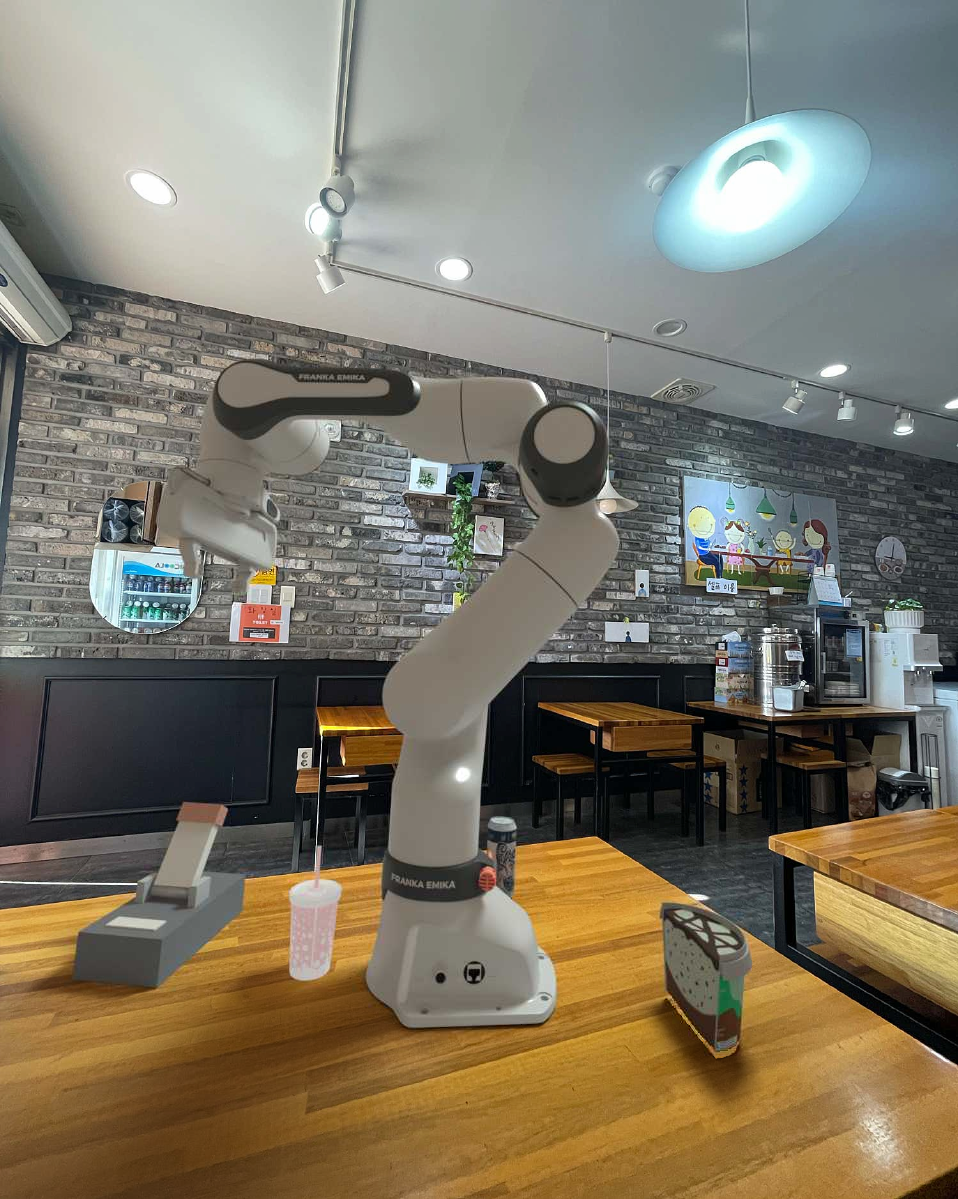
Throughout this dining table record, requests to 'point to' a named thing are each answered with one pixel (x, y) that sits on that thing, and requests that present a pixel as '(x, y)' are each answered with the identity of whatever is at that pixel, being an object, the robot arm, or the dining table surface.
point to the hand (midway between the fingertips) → (217, 586)
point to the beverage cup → (312, 925)
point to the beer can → (503, 851)
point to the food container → (705, 970)
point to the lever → (188, 849)
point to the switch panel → (156, 931)
